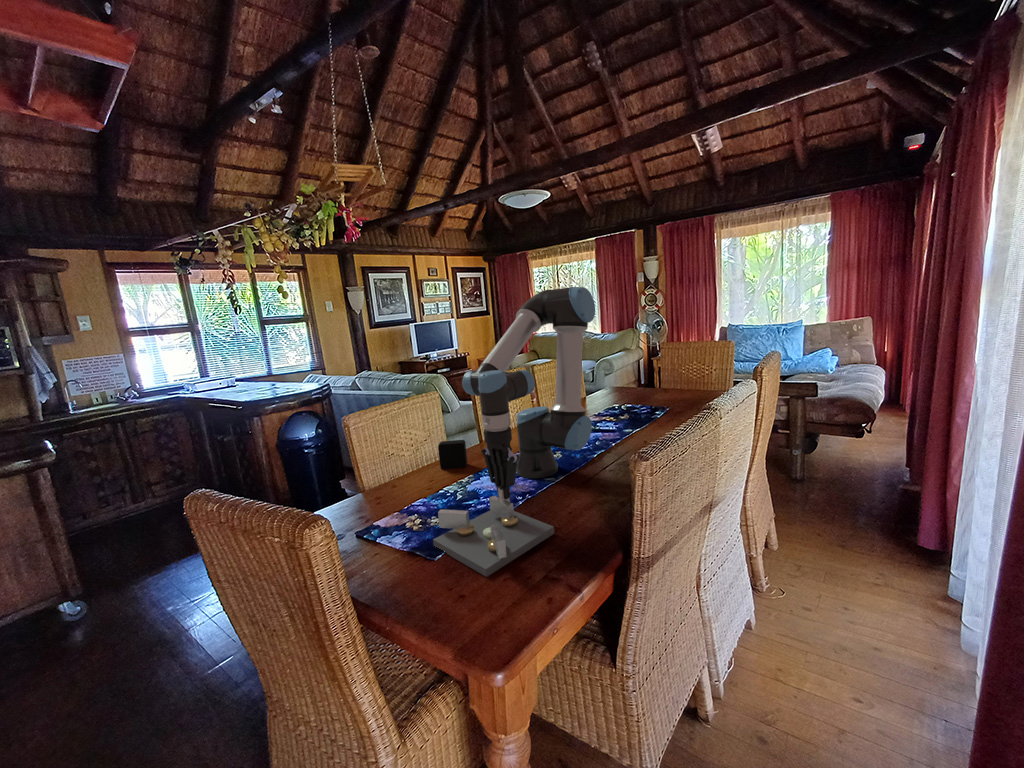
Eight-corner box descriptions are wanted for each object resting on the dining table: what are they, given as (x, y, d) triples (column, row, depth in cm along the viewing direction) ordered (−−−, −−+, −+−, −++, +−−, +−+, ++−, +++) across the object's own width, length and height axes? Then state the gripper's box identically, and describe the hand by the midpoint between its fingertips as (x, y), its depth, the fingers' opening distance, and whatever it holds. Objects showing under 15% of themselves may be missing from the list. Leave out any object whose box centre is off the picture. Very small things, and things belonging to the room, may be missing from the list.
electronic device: (466, 467, 171) (463, 442, 169) (440, 469, 172) (437, 444, 170) (467, 463, 175) (465, 439, 174) (442, 465, 176) (439, 441, 174)
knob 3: (486, 544, 111) (484, 523, 110) (503, 540, 112) (501, 520, 111) (494, 564, 102) (491, 542, 101) (512, 560, 103) (510, 538, 102)
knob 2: (521, 522, 121) (519, 503, 120) (509, 528, 118) (507, 509, 117) (499, 512, 128) (497, 494, 127) (487, 518, 125) (485, 499, 124)
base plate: (500, 511, 133) (499, 501, 132) (554, 533, 118) (553, 522, 117) (433, 546, 117) (432, 535, 116) (486, 577, 102) (485, 564, 101)
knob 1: (476, 528, 120) (474, 508, 119) (470, 536, 116) (468, 516, 115) (444, 526, 122) (442, 507, 121) (438, 534, 118) (435, 514, 117)
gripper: (471, 428, 123) (480, 507, 128) (503, 435, 114) (512, 520, 118) (491, 421, 128) (499, 497, 133) (523, 427, 119) (531, 509, 123)
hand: (505, 508), depth 125 cm, fingers closed
